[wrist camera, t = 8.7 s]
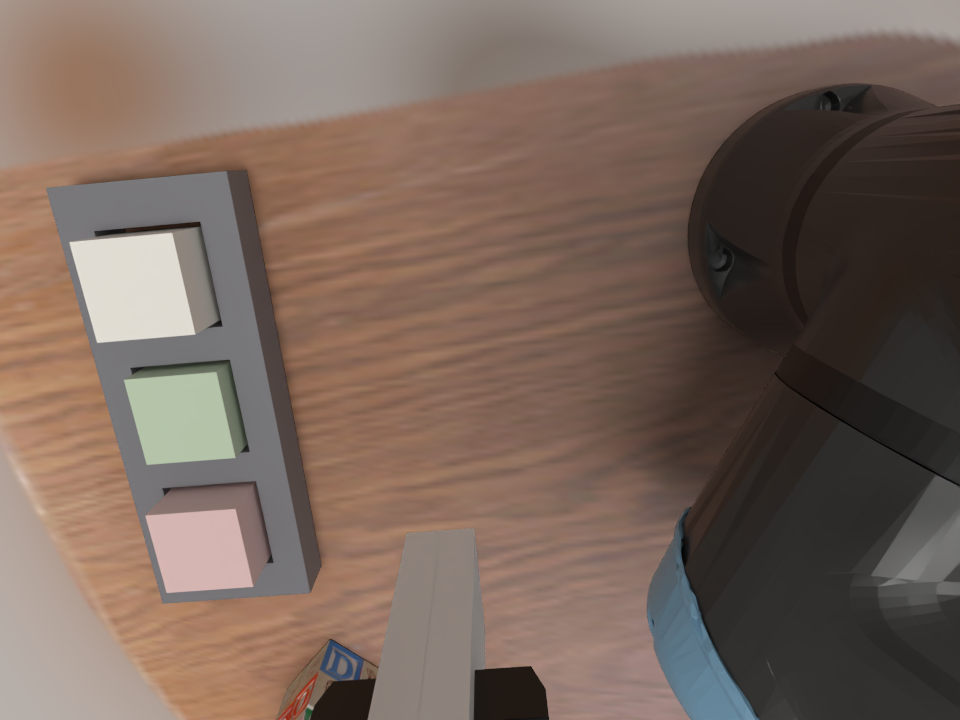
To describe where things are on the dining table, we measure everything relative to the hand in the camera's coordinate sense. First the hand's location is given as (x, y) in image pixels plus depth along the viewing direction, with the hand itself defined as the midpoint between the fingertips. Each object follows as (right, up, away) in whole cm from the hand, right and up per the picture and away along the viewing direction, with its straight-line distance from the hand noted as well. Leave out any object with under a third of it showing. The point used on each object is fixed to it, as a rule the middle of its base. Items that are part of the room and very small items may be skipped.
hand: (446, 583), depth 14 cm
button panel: (-17, +3, +27) cm, 32 cm away
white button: (-17, +10, +23) cm, 30 cm away
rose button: (-16, -5, +28) cm, 32 cm away
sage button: (-17, +3, +27) cm, 31 cm away
